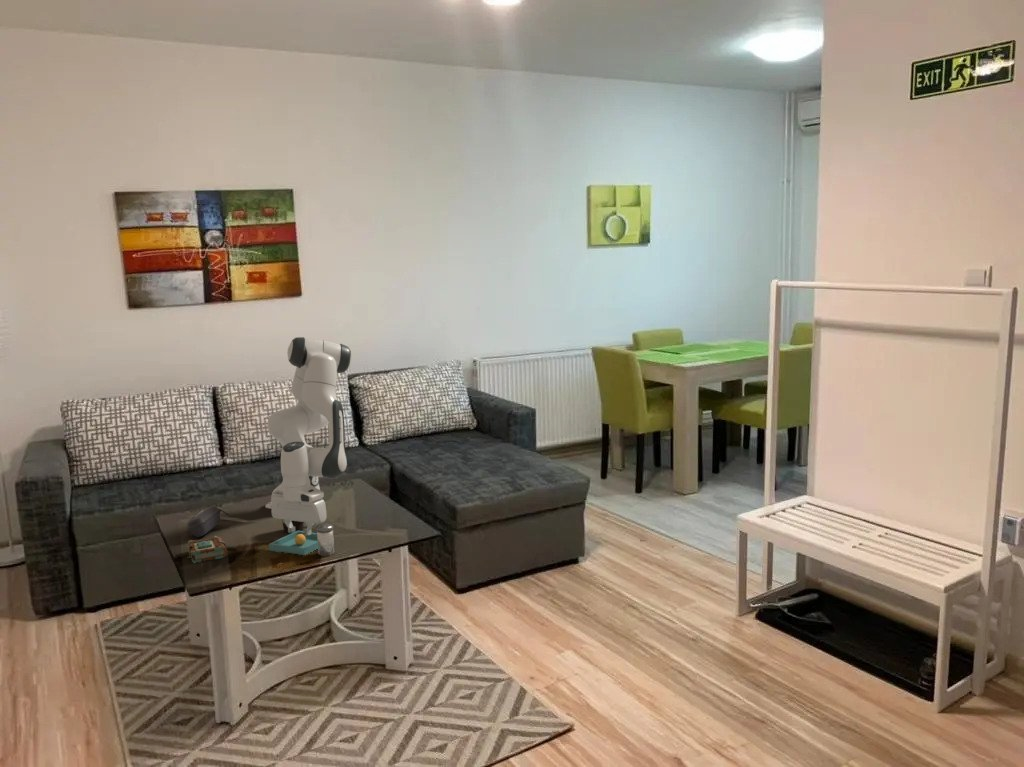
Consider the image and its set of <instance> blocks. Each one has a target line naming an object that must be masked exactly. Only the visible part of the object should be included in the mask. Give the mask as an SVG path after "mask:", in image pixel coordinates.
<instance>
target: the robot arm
mask: <svg viewBox="0 0 1024 767" xmlns="http://www.w3.org/2000/svg"><path fill="white" fill-rule="evenodd" d="M287 358H288V359H287V360H288V362H289V363H290V364H291V365H292V366H294V367H295V368H296V369H295V372H294V377H293V380H292V384H291V389H290V391H291V393H292V395H293V397H294V398H295V399H296V400H297V404H296V405H295V406H293V407H288V408H283V409H280V410H277V411H276V412H274V413H272V414H270V415H269V417H268V418H267V425H266V426H267V430H268V433H269V434H270V435H271V436H272V438H274V439H276V441H278V442H279V443H280V445H281V447H282V448H281V451H280V452H281V453H280V472H281V475H282V476H281V477H282V481H281V482H282V483H280V484H279V485H278V486H276V488H275V489H273V491H272V492H271V499H270V500H271V501H269V502H268V503H266V504H265V508H266V509H271V517H273V519H277V520H282V519H285V524H286V525H287V527H288V532H290V533H289V534H291V533H293V532H295V526H293V524H292V522H291V521H292V520H293V521H300V522H304V523H305V525H306V526H307V527H306V529H303V531H304V532H305V533H304V534H305V535H310V534H311V533H313V532H312V530H313V526H314V525H321V524H323V523H324V522H326V520H327V515H328V514H327V508H326V507H327V506H326V502H325V500H324V499H323V498H324V497H325V492H324V491H323V490H321V489H320V488H321V487H320V478H326V479H332V480H336V479H338V478H340V477H341V476H342V475H343V474H344V473H345V471H346V470H347V466H348V458H347V453H346V440H345V439H346V438H345V417H344V415H345V414H344V406H343V404H342V403H341V401H339V400H338V398H337V382H338V374H344V373H345V372H346V371H348V369H349V367H350V366H351V363H352V351H351V349H350V346H347V345H345V344H342V343H336V342H333V341H329V340H325V339H315V338H305V337H304V336H303V337H300V336H299V337H294V338H293V339H292V340H291V342H290V343H289V345H288V348H287ZM327 425H328V446H327V447H315V446H312V445H310V444H308V443H307V442H306V439H305V435H307V434H312V433H315V432H318V431H319V430H321V429H323V428H325V427H326V426H327Z"/></svg>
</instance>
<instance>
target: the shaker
mask: <svg viewBox="0 0 1024 767" xmlns="http://www.w3.org/2000/svg"><path fill="white" fill-rule="evenodd" d="M315 531H316V533H317V540H318V550H317V552H318V556H319V555H322V556H321V557H327V556H326V555H330V554H332V553H334V552H335V538H334V524H332V523H320V524H317V525H316V526H315ZM334 554H335V553H334ZM330 556H331V555H330Z"/></svg>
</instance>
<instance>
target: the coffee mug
mask: <svg viewBox="0 0 1024 767" xmlns="http://www.w3.org/2000/svg"><path fill="white" fill-rule="evenodd" d="M281 522H282V528H283V532H284V533H285V534H291V533H290V532H288V527H287V525H286V524H285V519H281ZM291 522H292V524H293V526H295V532H296V531H304V523H305V522H300V521H293V520H292V521H291Z"/></svg>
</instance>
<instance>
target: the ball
mask: <svg viewBox="0 0 1024 767" xmlns="http://www.w3.org/2000/svg"><path fill="white" fill-rule="evenodd" d="M305 541H306V538H305V536H304V535H303V534H298V535H297V536H296V537H295V543H296V544H298V545H302V544H304V543H305Z"/></svg>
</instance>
